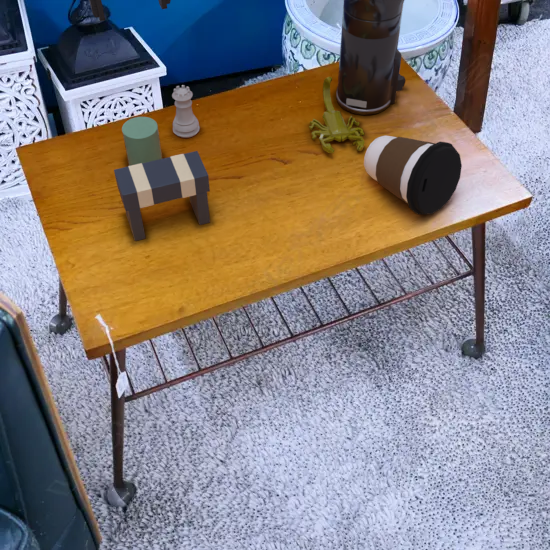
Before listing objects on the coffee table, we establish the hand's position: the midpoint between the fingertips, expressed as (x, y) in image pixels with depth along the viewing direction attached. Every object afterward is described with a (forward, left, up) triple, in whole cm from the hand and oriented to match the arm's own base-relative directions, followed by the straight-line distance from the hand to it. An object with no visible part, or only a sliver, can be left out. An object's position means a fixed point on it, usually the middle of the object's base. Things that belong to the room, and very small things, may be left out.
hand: (132, 12), depth 102 cm
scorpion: (-29, +4, -24) cm, 38 cm away
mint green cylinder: (+2, +1, -24) cm, 24 cm away
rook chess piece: (-6, -4, -25) cm, 26 cm away
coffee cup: (-31, +16, -21) cm, 41 cm away
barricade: (+2, +16, -24) cm, 29 cm away
